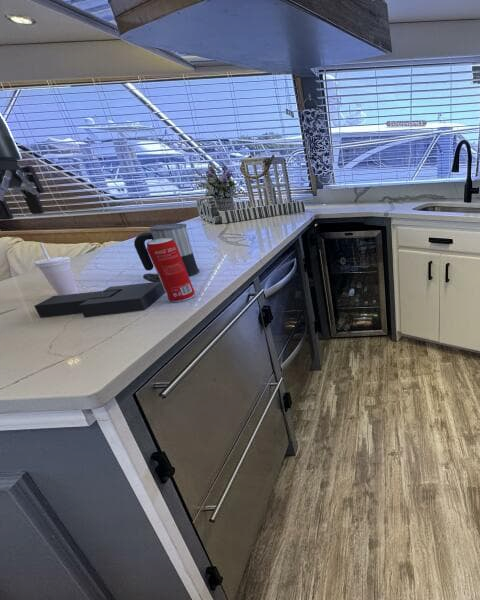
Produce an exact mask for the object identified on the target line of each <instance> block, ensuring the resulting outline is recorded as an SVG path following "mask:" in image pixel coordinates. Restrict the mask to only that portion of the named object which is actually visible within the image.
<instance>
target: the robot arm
mask: <svg viewBox="0 0 480 600" xmlns="http://www.w3.org/2000/svg"><path fill="white" fill-rule="evenodd" d="M22 159H23V158H22V154H21V152H20V150H19V148H18V145H17V144H16V141H15V140H14V136H13V134H12V132H11V130H10V128H9V126H8V123H7V121H6V120H5V118H4V117H3V115H2V114H1V112H0V221H6V220H7V221H8V220H14V215H13V212H12V211H11V209H10V207H9V204H8V202H7V201H6V200H4V199H5V194H6V192H8V191H9V189H12V190H14V191H16V192H18V193H20V195H22V196H23V199H24V201H25V203H26V205H27V208H28V210H29V212H30V213H31V214H32V215H42V214H45V210H44V207H43V204H42V202H41V200H40V198H39V197H40V195H41V194H44V193H45V189H44V187H43V185H42V183H41V181H40V179H39V177H38V174H37V173H36V171H35V168H34V167H33V166H32V165H20V164H19V163H18V161H21V160H22ZM34 186H35V187H34Z"/></svg>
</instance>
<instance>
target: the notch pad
mask: <svg viewBox="0 0 480 600" xmlns="http://www.w3.org/2000/svg"><path fill="white" fill-rule="evenodd" d="M116 290H118V291H119V292H118V293H117V294H115V295H114V296H112V297H108V298H99V299H90V300H87V301H85V302H83V303H82V304H80V305H79V307H80V309H81V311H82V313H81V314H82V315H83V317H84V318H89V317H90V318H91V317H97V316H98V317H99V316H105V315H106V316H107V315H115V314H123V313H132V312H139V311H145V310H147V309H148V308H149V307H150V306H151V305H152V304H154V303H155V302H156V301H157V300H158V299H160V298H161V297H162V295H164V294H166V292H165V290H164V287H163V285H162V283H161V282H151V281H150V282H143V283H134V284H133V283H132V284H124V285H113V286H108V287H107V288H105V289H103V290H101V291H102V292H107V291H116Z"/></svg>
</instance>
